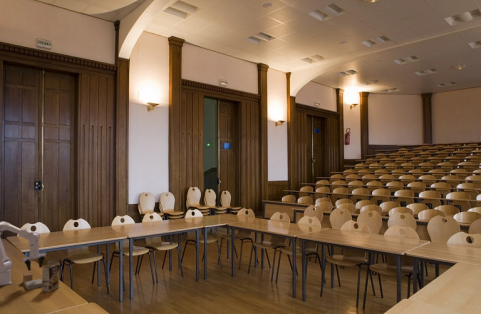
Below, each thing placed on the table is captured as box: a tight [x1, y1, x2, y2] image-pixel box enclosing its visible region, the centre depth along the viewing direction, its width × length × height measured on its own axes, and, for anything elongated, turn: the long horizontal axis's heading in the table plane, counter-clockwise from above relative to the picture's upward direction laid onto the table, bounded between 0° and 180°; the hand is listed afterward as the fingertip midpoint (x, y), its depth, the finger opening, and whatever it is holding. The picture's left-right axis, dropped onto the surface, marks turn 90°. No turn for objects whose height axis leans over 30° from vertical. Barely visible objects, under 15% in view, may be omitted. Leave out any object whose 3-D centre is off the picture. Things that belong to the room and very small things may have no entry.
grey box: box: [24, 278, 42, 290], centre depth 248 cm, size 10×10×3 cm
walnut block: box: [22, 272, 33, 285], centre depth 255 cm, size 5×5×6 cm
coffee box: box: [41, 263, 60, 293], centre depth 243 cm, size 9×6×16 cm
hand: (34, 268), depth 254 cm, fingers open, 7 cm apart
